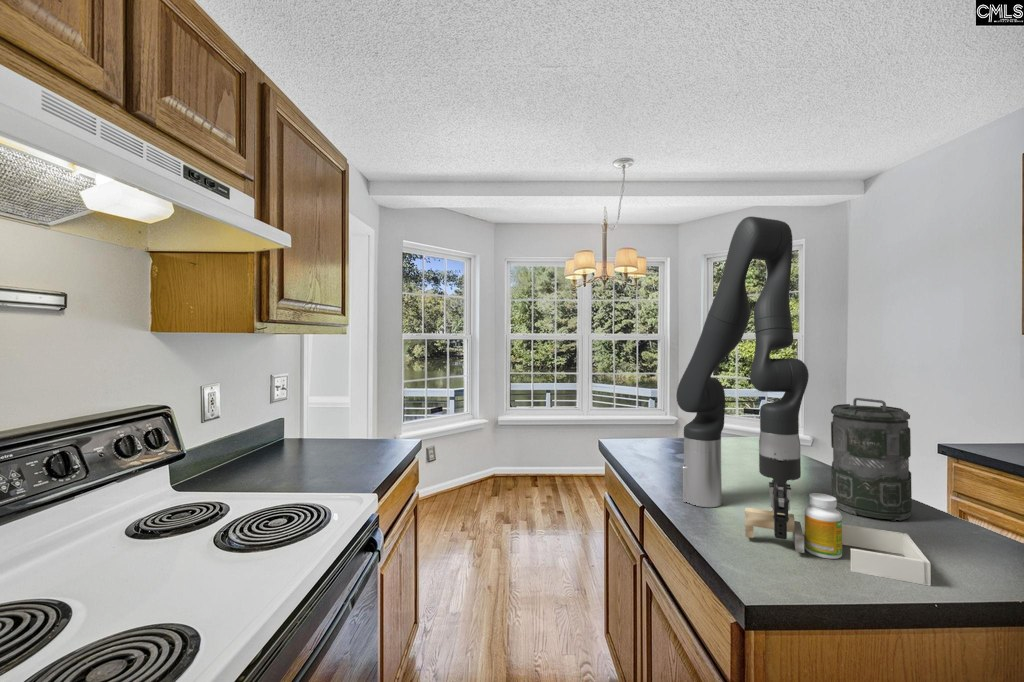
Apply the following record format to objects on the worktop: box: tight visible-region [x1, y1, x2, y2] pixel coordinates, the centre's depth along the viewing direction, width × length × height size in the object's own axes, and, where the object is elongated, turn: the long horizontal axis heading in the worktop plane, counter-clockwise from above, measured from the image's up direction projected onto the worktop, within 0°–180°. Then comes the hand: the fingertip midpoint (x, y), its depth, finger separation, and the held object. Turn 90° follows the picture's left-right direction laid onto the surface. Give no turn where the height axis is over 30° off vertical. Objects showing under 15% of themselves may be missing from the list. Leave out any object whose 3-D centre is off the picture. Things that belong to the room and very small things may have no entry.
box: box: [842, 523, 932, 587], centre depth 88 cm, size 11×14×4 cm
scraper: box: [744, 507, 805, 554], centre depth 97 cm, size 10×9×6 cm
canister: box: [830, 397, 913, 522], centre depth 115 cm, size 16×16×28 cm
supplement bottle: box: [804, 492, 843, 560], centre depth 92 cm, size 6×6×11 cm
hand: (780, 535), depth 96 cm, fingers closed on scraper, 2 cm apart
